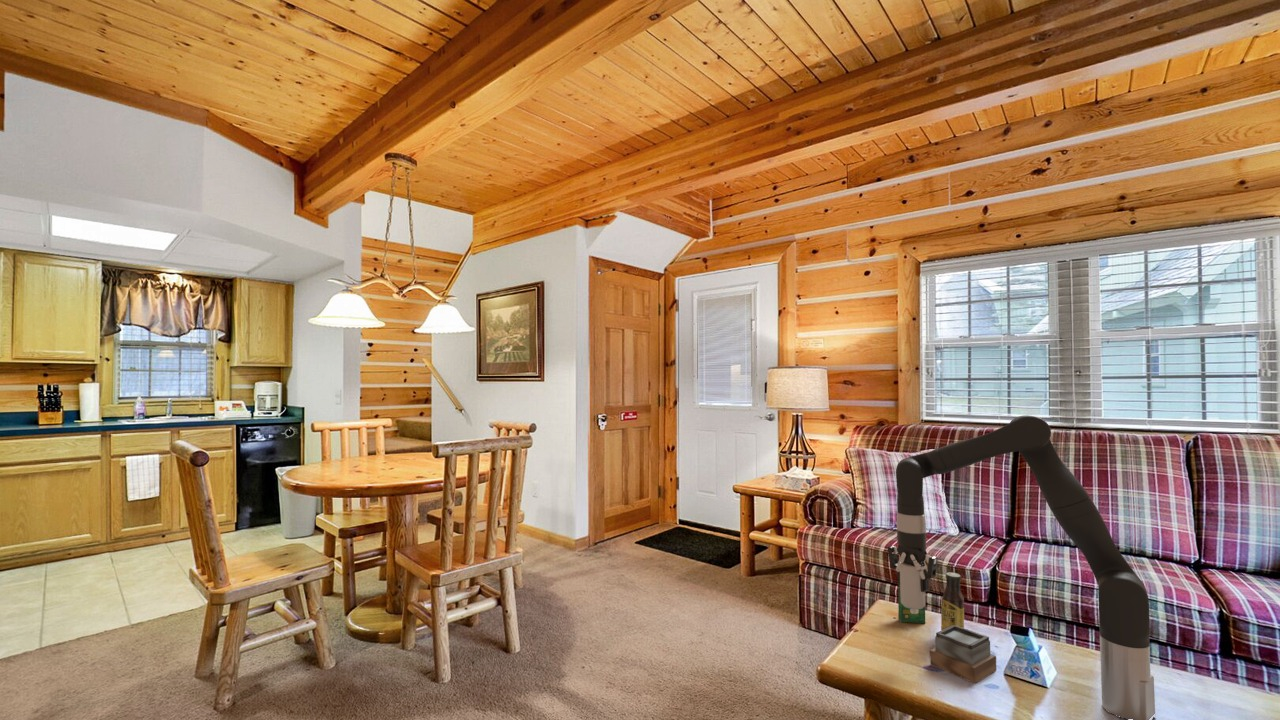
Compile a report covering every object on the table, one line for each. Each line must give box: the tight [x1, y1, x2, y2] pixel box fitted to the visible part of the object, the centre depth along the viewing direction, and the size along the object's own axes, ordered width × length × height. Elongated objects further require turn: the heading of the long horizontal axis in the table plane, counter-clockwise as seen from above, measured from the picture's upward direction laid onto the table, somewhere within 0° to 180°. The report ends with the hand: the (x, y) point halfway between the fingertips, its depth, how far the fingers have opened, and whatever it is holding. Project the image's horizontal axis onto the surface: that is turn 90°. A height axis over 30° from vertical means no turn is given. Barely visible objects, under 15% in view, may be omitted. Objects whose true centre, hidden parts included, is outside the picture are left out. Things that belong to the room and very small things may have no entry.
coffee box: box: [897, 584, 926, 624], centre depth 188 cm, size 8×3×13 cm, turn 85°
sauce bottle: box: [940, 572, 965, 631], centre depth 176 cm, size 6×6×20 cm
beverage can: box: [900, 562, 926, 610], centre depth 161 cm, size 6×6×12 cm
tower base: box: [929, 625, 997, 684], centre depth 158 cm, size 12×12×9 cm
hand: (912, 587), depth 161 cm, fingers closed on beverage can, 6 cm apart
